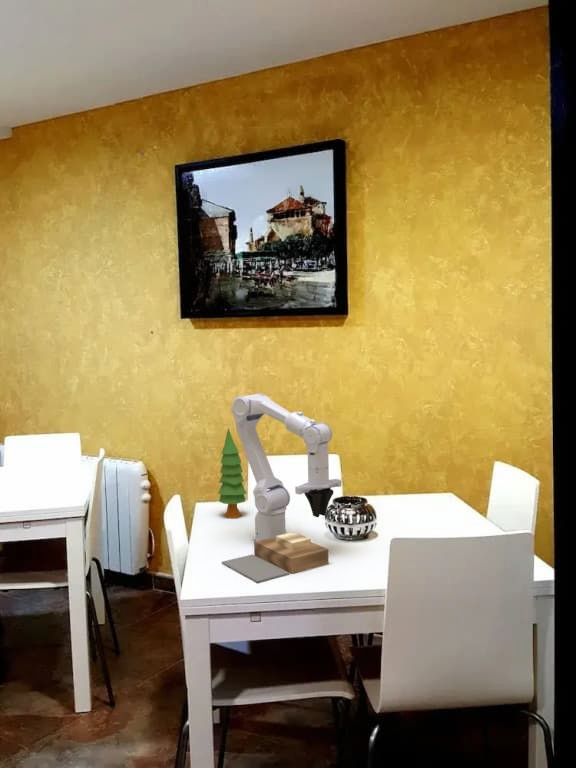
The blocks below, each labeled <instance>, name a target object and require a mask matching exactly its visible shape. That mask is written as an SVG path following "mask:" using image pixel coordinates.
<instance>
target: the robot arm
mask: <svg viewBox="0 0 576 768" xmlns="http://www.w3.org/2000/svg"><path fill="white" fill-rule="evenodd" d="M230 410H231V414H232V415H233V418H234V421H235V423H234V424H235V430H236V432H237V435H238V438H239V440H240V443H241V446H242V448H243V451H244V454H245V456H246V458H247V461H248V464H249V466H250V469H251V472H252V475H253V476H254V479H255V482H256V485H255V486H254V488H253V490H252V494H253V496H254V505H255V506H254V507H255V509H257V512H256V514H255V517H254V531H255V534H254V535H255V536H254V537H253V538H252V540H253V541H258V540H263V539H267V538H271V537H276V536H278V535H282V534H287V530H286V526H287V525H286V511H287V506H289V504H290V502H291V494H290V492H289V491H288V489H287V488H286V487H285V485H284V484H283V481H282V480H280V479H278V478H277V477H276V476H275V475H274V473H273V470H272V467H271V465H270V462H269V460H268V458H267V454H266V452H265V450H264V449H265V448H264V446H263V443H262V440H261V438H260V437H259V434H258V432H257V429H256V428H257V425H258V423H260V422H259V421H261V419H262V418H263V416H264V415H267V416H268V417H271V418H273V419H275V420H277V421H279V422H282V424H284V425H285V429H286V430H287V431H289V432H291V433H292V434H294V435H295V436H298V437H300V438H301V439H303V443H304V444H305V446H306V448H305V449H306V451H307V481H308V482H305V483H303V484H300V485H295V488H294V491H295V494H296V495H303V494H304V496H305V497H306V499H307V501H308V503H309V506H310V510H311V513H312V516H313V517H315V518H320V515H321V516H323V517H324V516H327V511H328V507H329V503H330V501H331V499H332V497H333V495H334V490H333V489H331V488H338V487H339V488H340V487H342V480H341V479H340V478H333V479H330V476H329V475H330V474H329V473H330V471H329V462H330V461H329V442H330V441H331V440H332V437H333V431H332V428H331V426H329V425H328V424H327V423H326V422H319V423H318V422H317V421H316V420H315V419H311V418H309V417H307V416H306V415H304V412H302V411H294V412H293V411H292V412H290V411H288V410H287V409H286V408H284V407H282V406H281V405H279V404H277V403H276V402H275V401H274V400H272V399H271V398H270V397H269V396H268V395H265V394H264V393H260V392H258V393H255V394H248V395H238V396H236V397H235V398H234V400H233V402H232V405H231V409H230Z"/></svg>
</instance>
